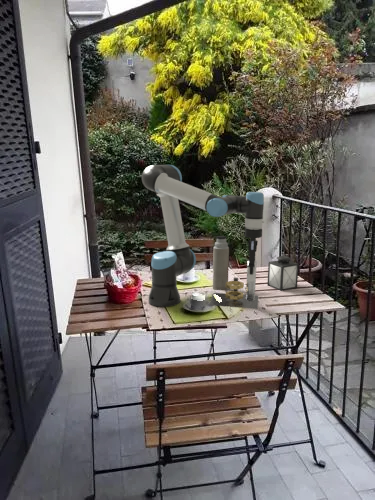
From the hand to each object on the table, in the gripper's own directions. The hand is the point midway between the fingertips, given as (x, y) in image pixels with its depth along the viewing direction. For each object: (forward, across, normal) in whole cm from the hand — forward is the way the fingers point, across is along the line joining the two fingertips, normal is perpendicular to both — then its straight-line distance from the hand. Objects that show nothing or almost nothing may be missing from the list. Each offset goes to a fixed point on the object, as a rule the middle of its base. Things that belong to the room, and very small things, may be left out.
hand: (251, 279), depth 184 cm
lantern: (+14, +37, -15) cm, 42 cm away
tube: (+10, 0, 0) cm, 10 cm away
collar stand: (+14, +6, +8) cm, 17 cm away
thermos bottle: (+14, +27, +17) cm, 35 cm away
